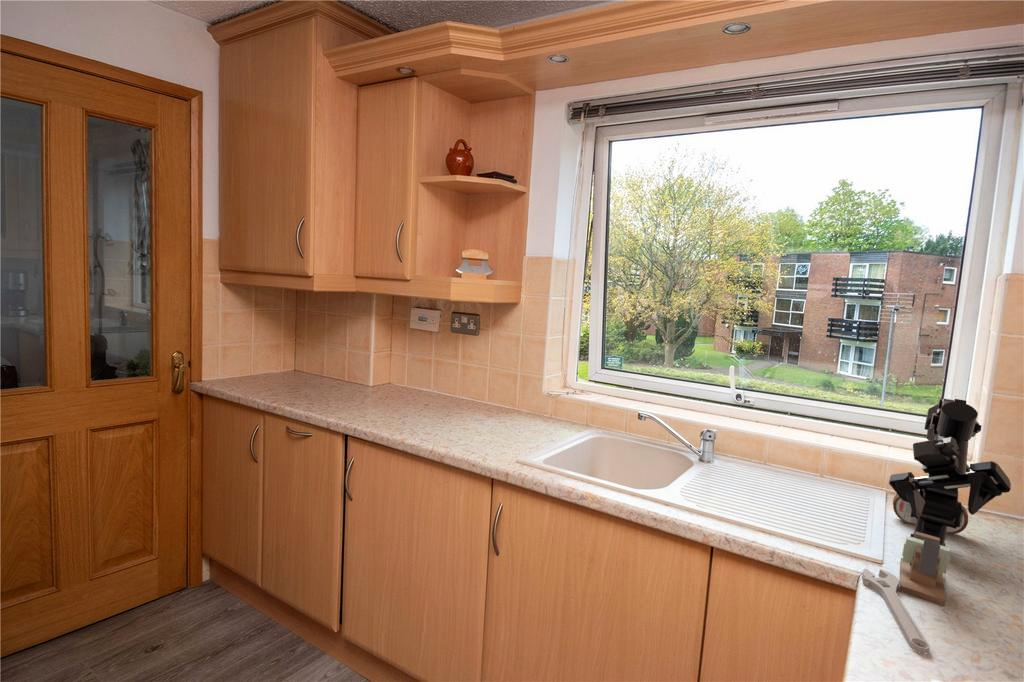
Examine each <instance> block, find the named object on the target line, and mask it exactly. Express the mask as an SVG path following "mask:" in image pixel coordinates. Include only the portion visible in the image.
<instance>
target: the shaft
mask: <svg viewBox="0 0 1024 682" xmlns="http://www.w3.org/2000/svg"><path fill="white" fill-rule="evenodd" d="M939 550H940V542H937V541H934V540H930V539H926V538H924V542H923V547H922V548H921V557H920V562H919V567H918V572H921V573H925V574H928V575H931V576H934V575H935V570H936V565H937V560H938V555H939Z"/></svg>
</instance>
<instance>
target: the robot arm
mask: <svg viewBox="0 0 1024 682" xmlns="http://www.w3.org/2000/svg"><path fill="white" fill-rule="evenodd" d="M978 414H979V413H978V411H977V410H976V408H974V407H973V406H971V405H970V404H968V403H967V400H963V399H958V398H954V399H948V398H939V400H938V404H936V405H934V406H931V407H929V408H928V411H927V413H926V417H925V418H926V419H925V424H924V430H926V431H927V432H926V440H924V441H919V442H914V443H913V444H912V452H913V453H912V454H913V459H914V460H915V461H917V462H918V463H920V464H921V465H922V467H921V470H922V471H923V472H924V473H925V474H928V476H927V475H926V476H918V477H916V476H915V475H914V473H913V472H911V471H909V472H908V471H907V472H902V473H901V472H900V473H895V474H894V473H893V474H891V475H890V476H889V481H888V484H889V486H890V487H891V488H892V489H893V491H894V492H895V493H896V494H898V495H899V497H900V498H901V499H902V500H903V501H905V502H908V503H910V506H911V516H910V517H915V518H916V519H917V520H916V525H914V532H913V533H910V536H909V537H913V538H915V533H916V532H920V533H923V534H927V535H931V536H934V537H938V538H940V545H941V546H945V547H946V543H945V541H946V537H947V534H946V533H947V528H948V527H952V528H954V529H956V527H960V523H961V519H962V516H963V513H964V509H963V508H962V505H963V504H962V502H961V501H959V489H963V488H969V493H968V499H967V500H968V501H967V512H968V513H969V514H970V515H971V516H973V515H975V514H976V513H977V512H979V510H981V508H983V507H984V506H985V505H986V504H987V503H989V502H990V501H992V500H993V499H995V498H996V497H1000V496H1002V494H1004V493H1006V494H1007V493H1009V492H1010V491H1011V489H1012V487H1011V485H1012V483H1011V480H1010V478H1009V477H1008V475H1007V474H1006V473H1005V471H1004V470H1003V469H1002V467H1001V466H1000V465H999V464H998V463H997V462H996V461H993V460H991V461H983V462H976V463H975V462H974V463H970V464H967V463H968V453H969V441H971V439H972V438H975V436H976V435H977V434H978V433H980V432H981V430H982V427H983V425H982V424H980V423H979V422H978V420H977V419H978V416H979V415H978ZM971 471H972V472H971Z"/></svg>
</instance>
